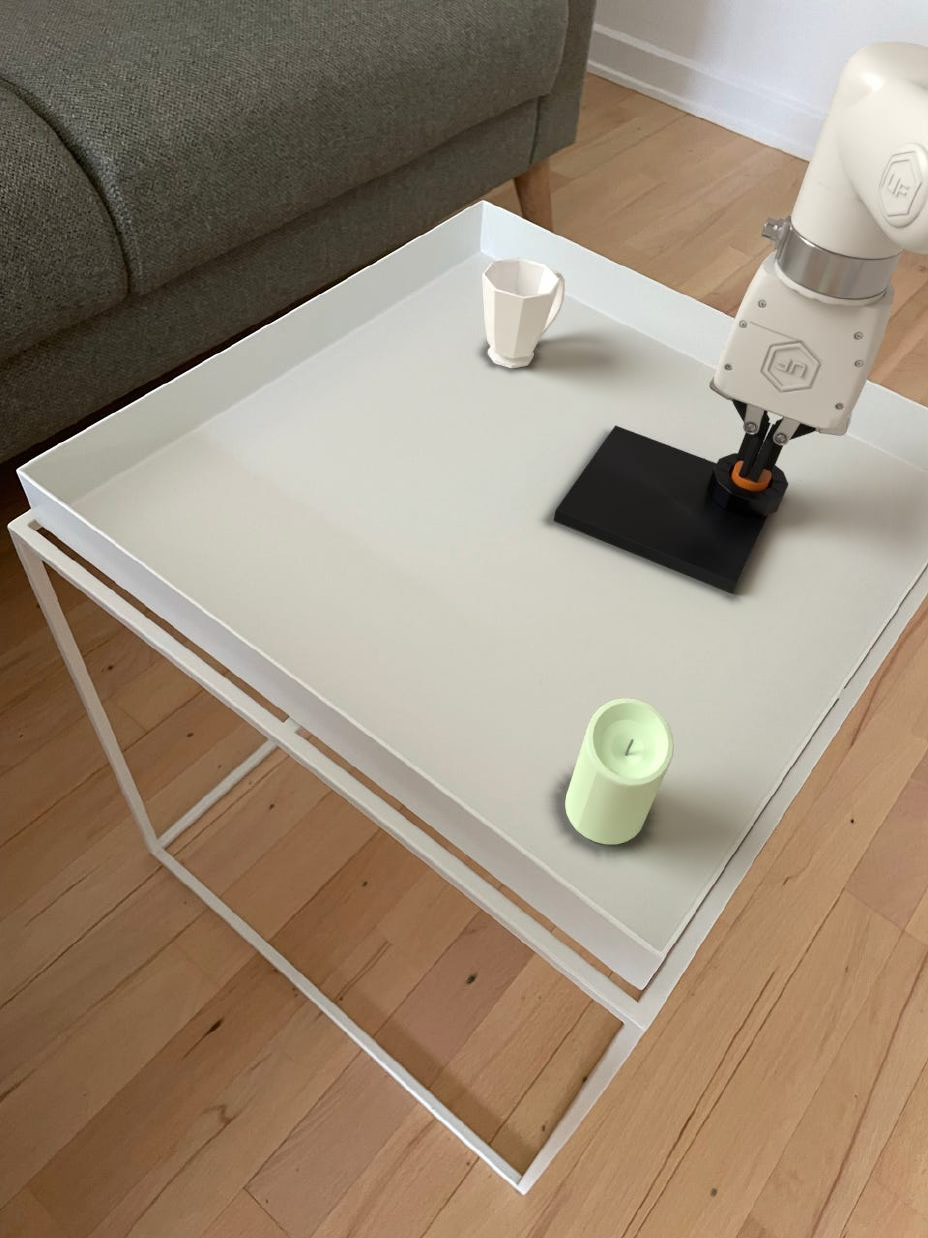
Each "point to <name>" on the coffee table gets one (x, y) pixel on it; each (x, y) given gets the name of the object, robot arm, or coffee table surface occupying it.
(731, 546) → the scale
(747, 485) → the button
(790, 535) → the coffee table surface
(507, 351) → the cup
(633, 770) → the candle
